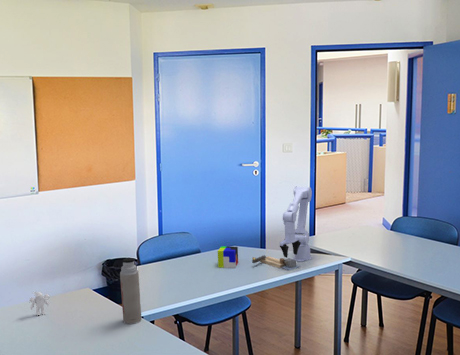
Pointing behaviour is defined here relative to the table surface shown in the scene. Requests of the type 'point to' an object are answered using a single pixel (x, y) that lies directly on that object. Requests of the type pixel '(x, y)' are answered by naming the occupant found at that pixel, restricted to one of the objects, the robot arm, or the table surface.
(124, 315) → the thermos bottle
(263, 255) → the lever
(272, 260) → the plane body
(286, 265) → the lever cap
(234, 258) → the puzzle toy
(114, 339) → the table surface
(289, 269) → the mat
